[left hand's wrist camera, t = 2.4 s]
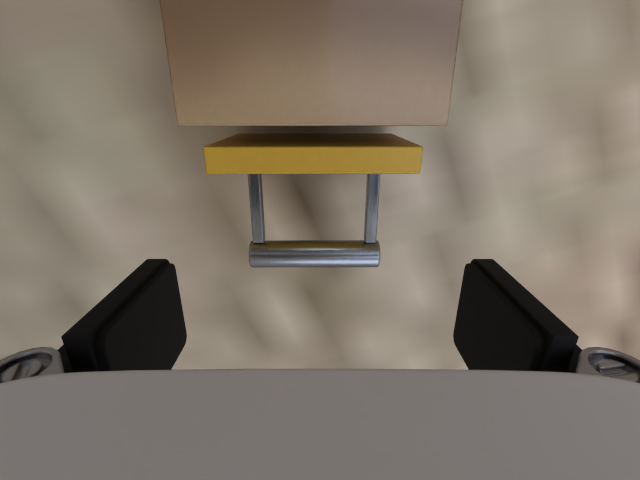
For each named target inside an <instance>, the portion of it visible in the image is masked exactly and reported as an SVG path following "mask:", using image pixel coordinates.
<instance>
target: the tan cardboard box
mask: <svg viewBox="0 0 640 480" xmlns="http://www.w3.org/2000/svg"><path fill="white" fill-rule="evenodd" d="M160 5H161V12H162V19H163V26H164V33H165V40H166V47H167V54H168V61H169V68H170V75H171V82H172V88H173V95H174V102H175V109H176V116H177V123H178V125H179V126H446V125H447V123H448V115H449V107H450V99H451V91H452V83H453V75H454V68H455V60H456V52H457V44H458V36H459V28H460V20H461V13H462V5H463V0H160Z"/></svg>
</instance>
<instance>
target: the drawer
mask: <svg viewBox="0 0 640 480" xmlns="http://www.w3.org/2000/svg"><path fill="white" fill-rule="evenodd" d="M422 150H423V147H422V146H419V145H417V144H415V143H412V142H410V141H408V140H405V139H403V138H400V137H398V136H396V135H393V134H237V135H234V136H232V137H229V138H226V139H224V140H221V141H218V142H216V143H213V144H210V145H208V146H205V147H204V156H205V164H206V172H207V174H248V182H249V195H250V208H251V221H252V234H253V241H251V243H250V247H249V262H250V265H251V267H378V266H379V263H380V246H379V242H378V241H377V240H376V234H377V218H378V202H379V186H380V174H419V173H420V169H421V160H422ZM261 174H367V188H366V208H365V228H364V240H295V241H265V226H264V210H263V194H262V179H261Z"/></svg>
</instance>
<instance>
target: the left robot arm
mask: <svg viewBox="0 0 640 480" xmlns="http://www.w3.org/2000/svg"><path fill="white" fill-rule="evenodd" d="M186 337H187V335H186V328H185V322H184V316H183V310H182V304H181V298H180V293H179V287H178V281H177V275H176V269H175V266H174V264H170V263H169V261H168V260H167V259H147V260H146V261H145V262H144V263H142V264H141V265H140V266H139V267H138V268H137V269H136V270H135V271H134V272H132V273H131V274H130V275H129V276H128V277H127V278H126V279H125V280H124V281H122V282H121V283H120V284H119V285H118V286H117V287H116V288H115V289H114V290H112V291H111V292H110V293H109V294H108V295H107V296H106V297H105V298H104V299H103V300H101V301H100V302H99V303H98V304H97V305H96V306H95V307H94V308H93V309H91V310H90V311H89V312H88V313H87V314H86V315H85V316H84V317H83V318H81V319H80V320H79V321H78V322H77V323H76V324H75V325H74V326H73V327H72V328H70V329H69V330H68V331H67V332H66V333H65V334H64V335H63V336H62V340H63V343H64V345H63V346H62V347H61V348H60V349H58V350H56V349H54V348H51V347H39V348H32V349H28V350H24V351H20V352H18V353H15V354H13V355H10V356H8V357H6V358H4V359H2V360H0V480H640V360H638V359H636V358H634V357H632V356H630V355H627V354H625V353H622V352H620V351H616V350H612V349H608V348H601V347H589V348H586V349H584V350H582V349H580V348H579V347H578V346H577V345H576V343H577V340H578V336H577V335H576V334H575V333H574V332H573V331H572V330H571V329H570V328H568V327H567V326H566V325H565V324H564V323H563V322H562V321H561V320H560V319H559V318H557V317H556V316H555V315H554V314H553V313H552V312H551V311H550V310H549V309H547V308H546V307H545V306H544V305H543V304H542V303H541V302H540V301H539V300H537V299H536V298H535V297H534V296H533V295H532V294H531V293H530V292H529V291H528V290H526V289H525V288H524V287H523V286H522V285H521V284H520V283H519V282H518V281H516V280H515V279H514V278H513V277H512V276H511V275H510V274H509V273H508V272H506V271H505V270H504V269H503V268H502V267H501V266H500V265H499V264H498V263H496V262H495V261H494V260H493V259H473V260H472V261H471V263H470V264H466V266H465V269H464V275H463V281H462V287H461V293H460V298H459V304H458V310H457V316H456V322H455V328H454V334H453V337H454V343H455V345H456V347H457V349H458V351H459V353H460V354H461V356H462V358H463V360H464V362H465V363H466V365H467V367H468V369H469V370H429V369H208V370H171V369H172V367H173V365H174V363H175V362H176V360H177V358H178V356H179V354H180V353H181V351H182V349H183V347H184V345H185V343H186Z"/></svg>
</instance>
